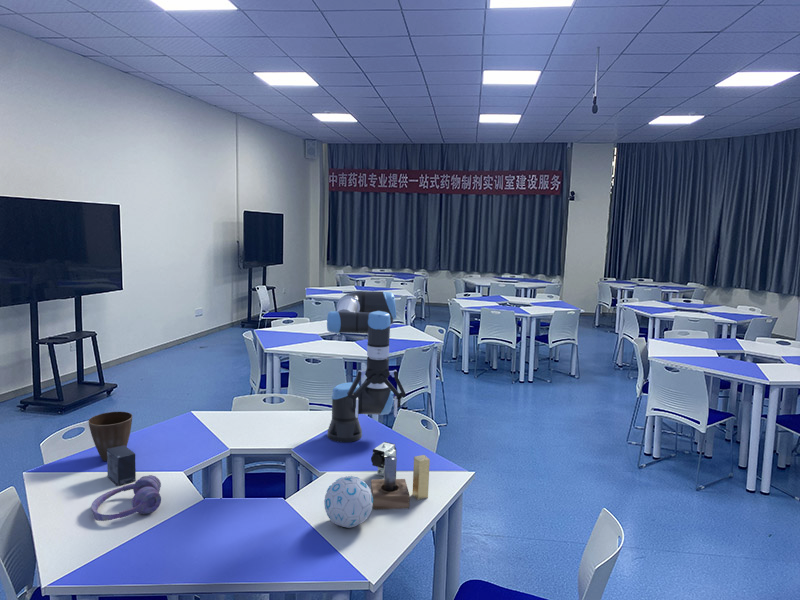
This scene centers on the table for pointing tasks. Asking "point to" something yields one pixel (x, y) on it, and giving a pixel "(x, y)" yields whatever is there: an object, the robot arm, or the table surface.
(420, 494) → the square bit
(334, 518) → the puzzle ball
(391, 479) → the cylinder
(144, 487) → the headphones
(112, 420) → the plant pot
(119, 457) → the small box
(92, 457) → the table surface
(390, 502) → the bore block
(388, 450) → the pneumatic valve
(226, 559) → the table surface
